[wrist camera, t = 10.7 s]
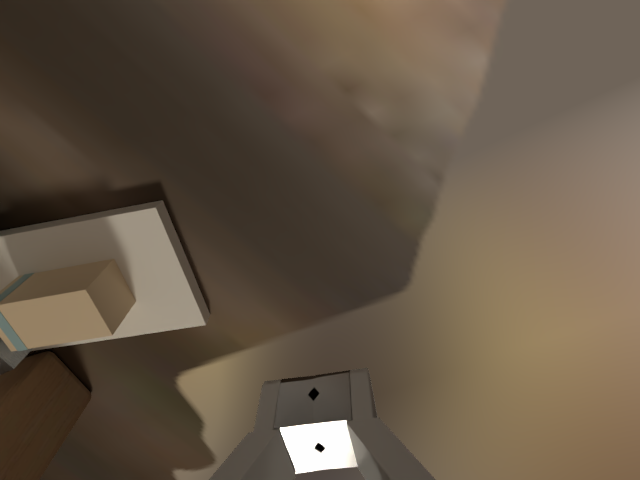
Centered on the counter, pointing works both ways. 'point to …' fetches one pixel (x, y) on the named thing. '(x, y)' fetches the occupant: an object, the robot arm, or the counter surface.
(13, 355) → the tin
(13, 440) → the wooden block
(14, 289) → the carton
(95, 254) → the white tray
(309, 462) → the robot arm
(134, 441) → the counter surface
